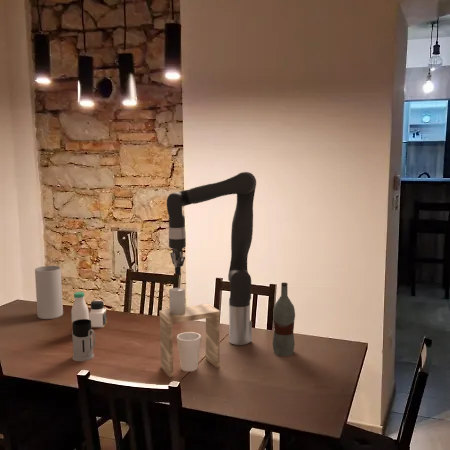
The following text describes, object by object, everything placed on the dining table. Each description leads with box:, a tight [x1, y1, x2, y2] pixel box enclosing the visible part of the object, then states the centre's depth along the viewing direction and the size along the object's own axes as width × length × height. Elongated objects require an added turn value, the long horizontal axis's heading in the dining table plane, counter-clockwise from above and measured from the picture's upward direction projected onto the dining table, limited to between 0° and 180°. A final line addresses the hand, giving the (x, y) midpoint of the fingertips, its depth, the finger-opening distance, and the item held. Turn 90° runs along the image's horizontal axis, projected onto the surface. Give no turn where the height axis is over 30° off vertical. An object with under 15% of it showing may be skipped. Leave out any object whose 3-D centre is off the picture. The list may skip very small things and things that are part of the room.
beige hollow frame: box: [158, 303, 221, 378], centre depth 199 cm, size 21×11×23 cm, turn 116°
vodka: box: [272, 282, 296, 357], centre depth 213 cm, size 9×9×30 cm
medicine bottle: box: [88, 299, 108, 328], centre depth 249 cm, size 7×7×12 cm
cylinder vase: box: [34, 265, 64, 320], centre depth 262 cm, size 12×12×25 cm
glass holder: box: [71, 319, 96, 362], centre depth 208 cm, size 9×14×15 cm, turn 45°
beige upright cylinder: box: [168, 287, 186, 315], centre depth 195 cm, size 6×6×9 cm
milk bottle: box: [70, 291, 89, 333], centre depth 235 cm, size 8×8×20 cm
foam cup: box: [176, 331, 202, 372], centre depth 199 cm, size 10×9×13 cm
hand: (177, 274), depth 230 cm, fingers closed
